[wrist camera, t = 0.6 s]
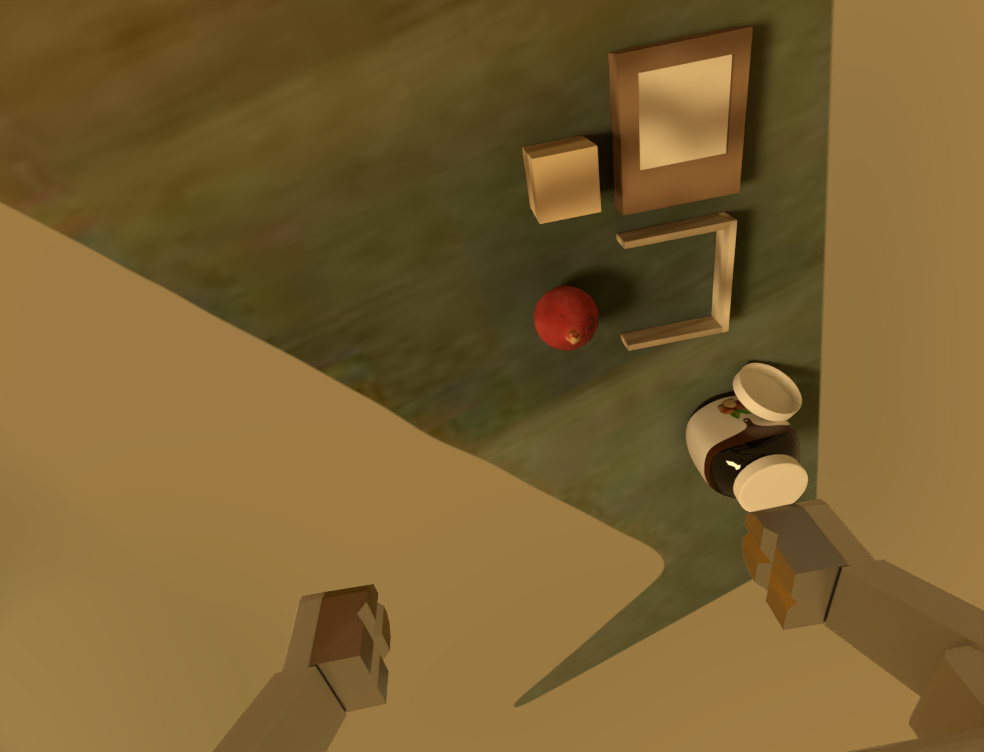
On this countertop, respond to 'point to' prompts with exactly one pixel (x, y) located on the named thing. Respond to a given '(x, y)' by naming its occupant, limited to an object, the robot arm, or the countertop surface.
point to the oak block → (562, 178)
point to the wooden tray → (681, 150)
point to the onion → (566, 318)
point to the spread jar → (750, 440)
